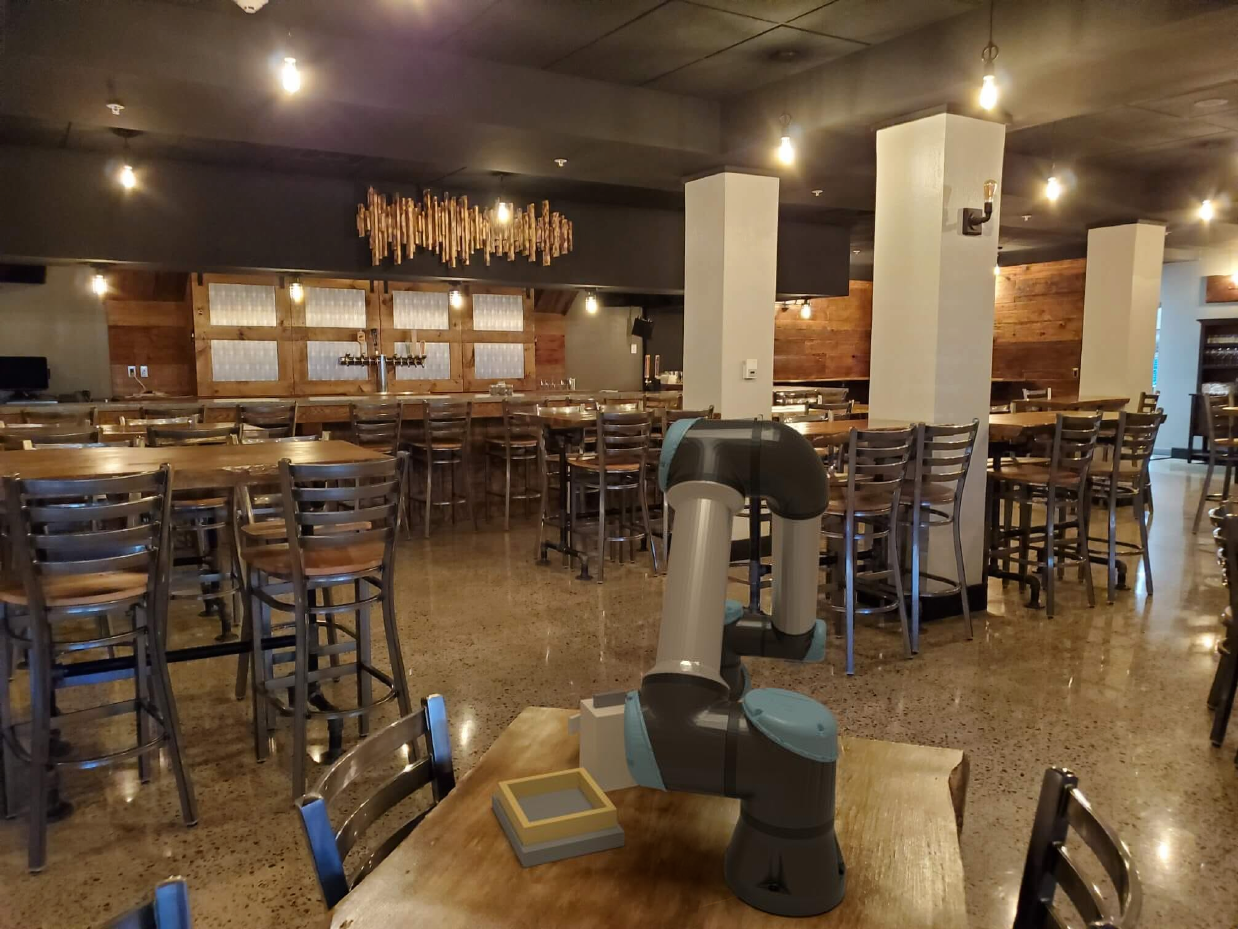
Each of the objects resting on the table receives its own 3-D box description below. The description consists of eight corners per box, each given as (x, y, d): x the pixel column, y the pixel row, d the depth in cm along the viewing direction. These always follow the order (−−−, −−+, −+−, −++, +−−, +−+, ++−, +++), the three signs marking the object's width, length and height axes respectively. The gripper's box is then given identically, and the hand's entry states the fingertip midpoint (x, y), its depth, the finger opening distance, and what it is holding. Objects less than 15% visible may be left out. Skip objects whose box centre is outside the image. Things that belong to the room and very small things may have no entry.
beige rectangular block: (637, 785, 130) (639, 698, 129) (595, 793, 128) (596, 704, 126) (620, 765, 137) (621, 682, 135) (579, 773, 134) (580, 687, 133)
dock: (624, 845, 114) (624, 814, 113) (523, 867, 108) (523, 834, 108) (582, 790, 129) (583, 762, 128) (492, 807, 123) (492, 778, 123)
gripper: (745, 744, 138) (663, 790, 123) (631, 702, 155) (545, 738, 139) (747, 700, 137) (664, 740, 122) (632, 662, 154) (545, 694, 138)
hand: (600, 739), depth 130 cm, fingers open, 13 cm apart
